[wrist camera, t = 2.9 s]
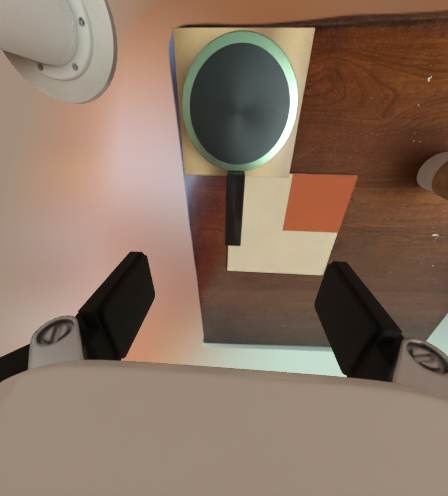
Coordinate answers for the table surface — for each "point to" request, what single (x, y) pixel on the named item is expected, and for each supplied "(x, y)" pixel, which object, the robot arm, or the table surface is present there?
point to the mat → (290, 222)
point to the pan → (239, 110)
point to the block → (298, 52)
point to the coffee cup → (435, 175)
